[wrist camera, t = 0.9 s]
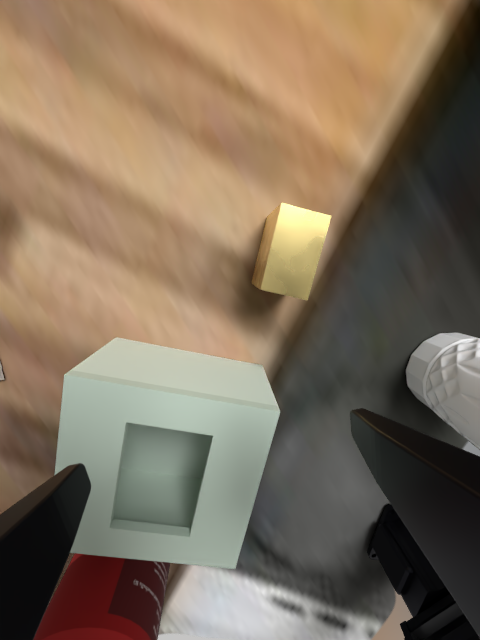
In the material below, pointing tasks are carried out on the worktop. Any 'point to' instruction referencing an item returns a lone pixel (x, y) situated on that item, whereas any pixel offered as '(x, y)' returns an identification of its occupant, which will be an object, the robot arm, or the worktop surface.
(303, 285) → the yellow block
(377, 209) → the worktop surface
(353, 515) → the worktop surface
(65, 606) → the canned food
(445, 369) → the white cup
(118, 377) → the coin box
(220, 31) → the worktop surface
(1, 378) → the condiment
